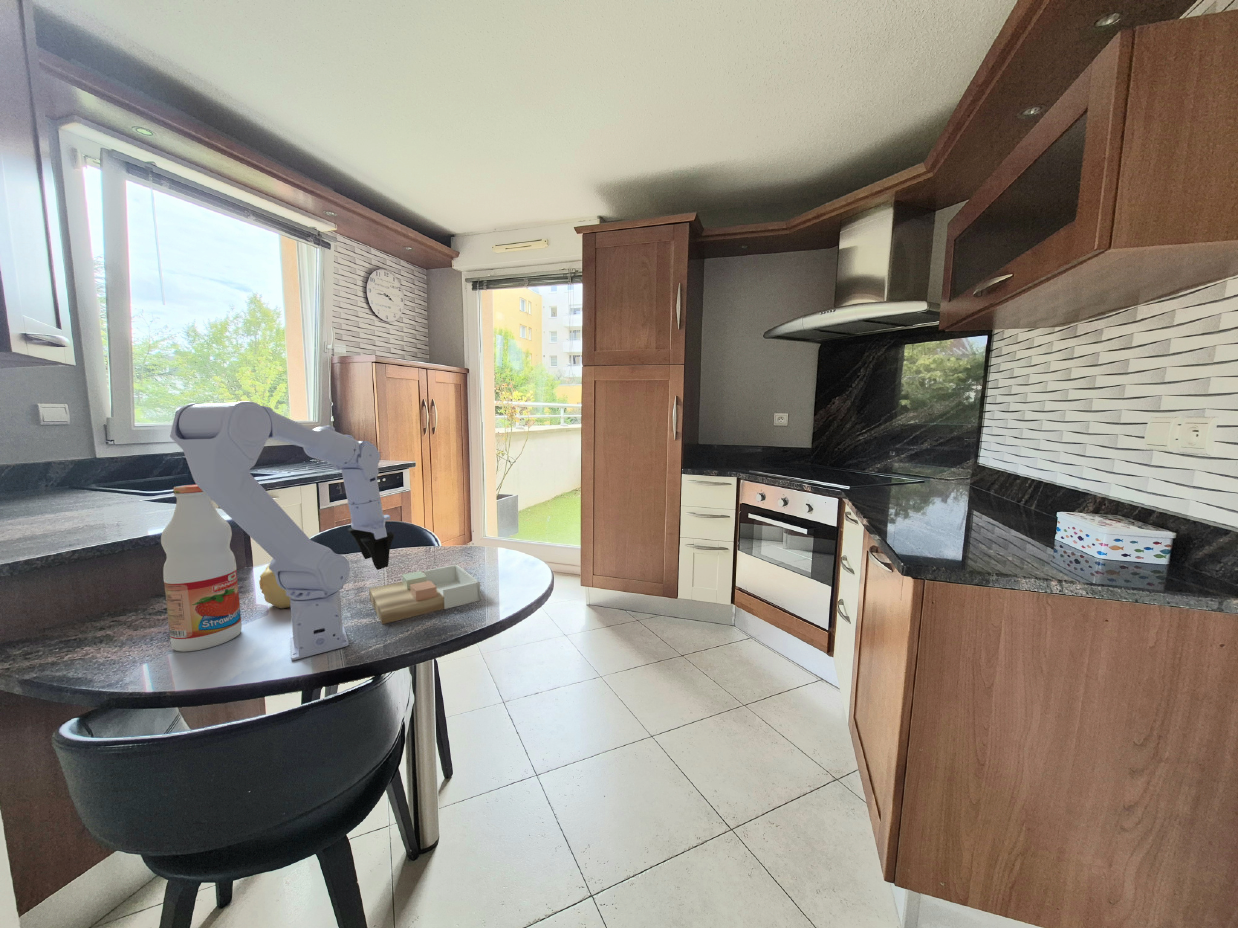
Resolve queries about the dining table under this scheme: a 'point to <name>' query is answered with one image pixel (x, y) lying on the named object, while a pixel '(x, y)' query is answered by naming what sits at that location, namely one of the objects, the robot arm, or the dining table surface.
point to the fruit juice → (199, 574)
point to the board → (401, 602)
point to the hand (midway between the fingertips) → (376, 562)
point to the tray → (454, 585)
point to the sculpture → (273, 590)
